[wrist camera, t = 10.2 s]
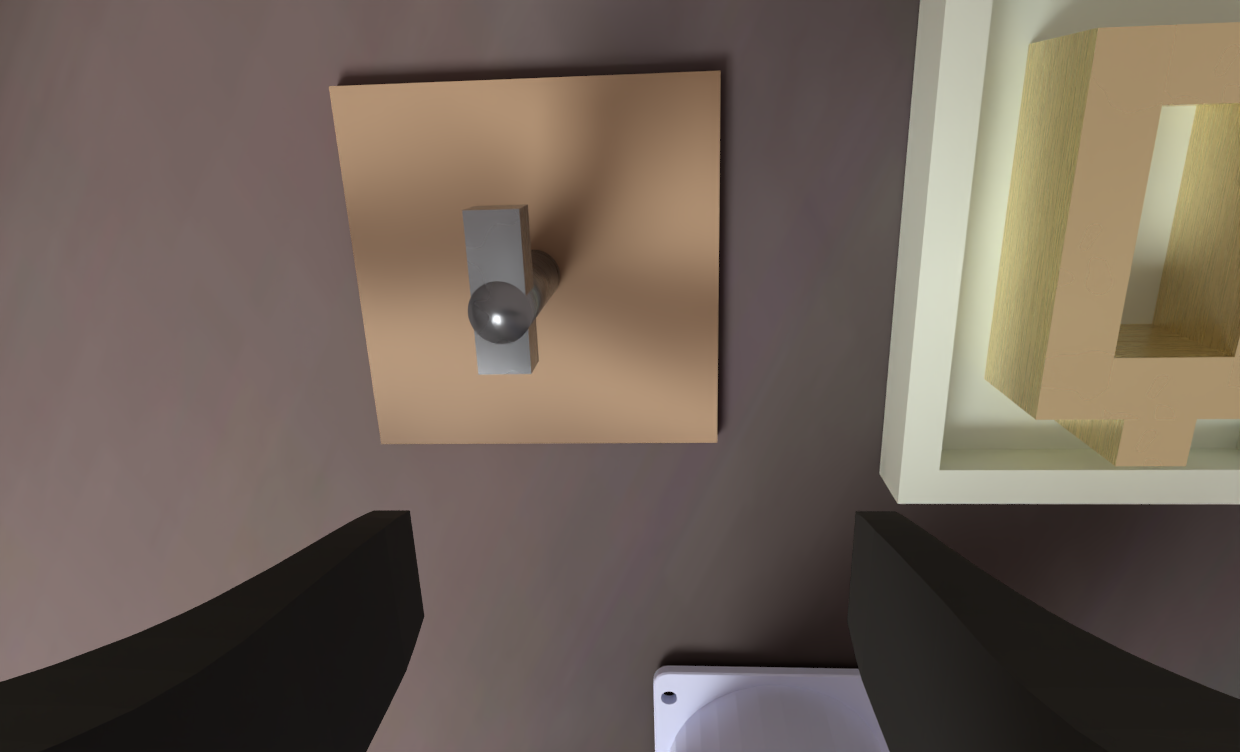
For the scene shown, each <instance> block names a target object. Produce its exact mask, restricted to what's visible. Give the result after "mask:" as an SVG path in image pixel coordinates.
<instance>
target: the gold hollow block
mask: <svg viewBox="0 0 1240 752" xmlns="http://www.w3.org/2000/svg"><path fill="white" fill-rule="evenodd" d="M1169 106H1196V111H1195V116H1194V121H1193V125H1192V130H1191V135H1190V140H1189V145H1188V150H1187V155H1186V160H1185V165H1184V169H1183V174H1182V179H1181V184H1180V189H1179V194H1178V199H1177V204H1176V209H1175V214H1174V218H1173V223H1172V228H1171V233H1170V238H1169V243H1168V248H1167V253H1166V258H1165V263H1164V267H1163V272H1162V277H1161V282H1160V287H1159V292H1158V297H1157V302H1156V307H1155V311H1154V316H1153V321H1152V324H1121V319H1122V313H1123V308H1124V303H1125V298H1126V292H1127V287H1128V282H1129V277H1130V271H1131V266H1132V261H1133V256H1134V250H1135V245H1136V240H1137V235H1138V229H1139V224H1140V219H1141V214H1142V208H1143V203H1144V198H1145V193H1146V187H1147V182H1148V177H1149V172H1150V166H1151V161H1152V156H1153V151H1154V145H1155V140H1156V135H1157V130H1158V124H1159V119H1160V114H1161V109H1162V107H1169ZM984 379H985V380H986V381H987V382H989V383H990V384H991V385H992V386H994V387H995V388H996V389H997V390H999V391H1000V392H1001V393H1003V394H1004V395H1005V396H1006V397H1008V398H1009V399H1010V400H1011V401H1013V402H1014V403H1015V404H1016V405H1018V406H1019V407H1020V408H1021V409H1023V410H1024V411H1025V412H1027V413H1028V414H1029V415H1030V416H1032V417H1033V418H1034V419H1035V420H1055V421H1056V422H1057V423H1059V424H1060V425H1061V426H1063V427H1064V428H1065V429H1067V430H1068V431H1069V432H1070V433H1072V434H1073V435H1074V436H1076V437H1077V438H1078V439H1080V440H1081V441H1082V442H1084V443H1085V444H1086V445H1088V446H1089V447H1090V448H1092V449H1093V450H1094V451H1096V452H1097V453H1098V454H1100V455H1101V456H1102V457H1104V458H1105V459H1106V460H1108V461H1109V462H1110V463H1112V464H1113V465H1114V466H1186V464H1187V459H1188V455H1189V451H1190V446H1191V442H1192V438H1193V434H1194V429H1195V425H1196V421H1197V419H1240V22H1228V23H1203V24H1177V25H1152V26H1126V27H1101V28H1095V29H1090V30H1086V31H1082V32H1078V33H1074V34H1070V35H1065V36H1061V37H1057V38H1053V39H1049V40H1045V41H1040V42H1036V43H1032V44H1029V46H1028V54H1027V61H1026V69H1025V76H1024V84H1023V91H1022V99H1021V106H1020V114H1019V121H1018V129H1017V136H1016V144H1015V151H1014V159H1013V166H1012V174H1011V181H1010V189H1009V196H1008V204H1007V211H1006V219H1005V226H1004V234H1003V241H1002V249H1001V256H1000V264H999V271H998V279H997V286H996V294H995V301H994V309H993V316H992V324H991V331H990V339H989V346H988V354H987V361H986V369H985V376H984Z"/></svg>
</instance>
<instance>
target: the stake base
mask: <svg viewBox="0 0 1240 752" xmlns="http://www.w3.org/2000/svg"><path fill="white" fill-rule="evenodd" d="M720 87H721V71H699V72H674V73H649V74H625V75H600V76H575V77H550V78H525V79H500V80H476V81H451V82H426V83H401V84H376V85H351V86H329V91H330V98H331V104H332V111H333V118H334V125H335V132H336V138H337V145H338V152H339V159H340V166H341V173H342V179H343V186H344V193H345V200H346V207H347V213H348V220H349V227H350V234H351V241H352V247H353V254H354V261H355V268H356V275H357V281H358V288H359V295H360V302H361V309H362V316H363V322H364V329H365V336H366V343H367V350H368V356H369V363H370V370H371V377H372V384H373V390H374V397H375V404H376V411H377V418H378V424H379V431H380V438H381V444H514V443H717V406H718V300H719V193H720ZM522 204H528V212H529V226H530V241H531V250H540V251H543V252H545V253H547V254H549V255H550V256H551V257H552V258H553V259H554V260H555V261H556V263H557V265H558V267H559V271H560V282H559V285H558V287H557V289H556V291H555V292H554V293H553V295H552V296H551V298H550V299H549V300H548V302H547V303H546V305H545V306H544V308H543V309H542V310H541V312H540V313H539V315H538V316H537V317H536V325H537V339H538V354H539V362H538V363H537V365H536V367H535V369H534V370H533V372H532V374H493V375H478V366H477V356H476V346H475V335H474V329H473V327H472V326H471V323H470V321H469V318H468V304H469V300H470V298H471V295H470V285H469V275H468V264H467V254H466V244H465V234H464V224H463V214H462V210H465V209H467V208H470V207H473V206H486V205H522Z"/></svg>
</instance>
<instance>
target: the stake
mask: <svg viewBox="0 0 1240 752" xmlns="http://www.w3.org/2000/svg"><path fill="white" fill-rule="evenodd" d="M462 214H463V224H464V234H465V244H466V254H467V264H468V275H469V285H470V295H471V298H470V300H469V304H468V318H469V321H470V323H471V326H472V327H473V329H474V335H475V346H476V356H477V366H478V375H493V374H532V372H533V370H534V369H535V367H536V365H537V363H538V362H539V354H538V339H537V325H536V317H537V316H538V315H539V313H540V312H541V310H542V309H543V308H544V306H545V305H546V303H547V302H548V300H549V299H550V298H551V296H552V295H553V293H554V292H555V291H556V289H557V287H558V285H559V282H560V271H559V267H558V265H557V263H556V261H555V260H554V259H553V258H552V257H551V256H550V255H549V254H547V253H545V252H543V251H540V250H531V241H530V226H529V212H528V204H522V205H486V206H473V207H470V208H467V209H465V210H462Z"/></svg>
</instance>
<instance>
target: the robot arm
mask: <svg viewBox="0 0 1240 752" xmlns="http://www.w3.org/2000/svg"><path fill="white" fill-rule="evenodd" d="M423 619H424V611H423V603H422V596H421V589H420V582H419V574H418V567H417V560H416V553H415V545H414V538H413V531H412V524H411V517H410V511H372V512H369V513H367V514H365V515H363V516H361V517H359V518H357V519H355V520H353V521H351V522H349V523H347V524H346V525H344V526H342V527H340V528H339V529H337V530H335V531H333V532H332V533H330V534H328V535H326V536H325V537H323V538H321V539H320V540H318V541H316V542H314V543H313V544H311V545H309V546H308V547H306V548H304V549H302V550H301V551H299V552H297V553H296V554H294V555H292V556H290V557H289V558H287V559H285V560H284V561H282V562H280V563H278V564H277V565H275V566H273V567H271V568H269V569H268V570H266V571H264V572H262V573H260V574H258V575H256V576H255V577H253V578H251V579H249V580H247V581H245V582H243V583H242V584H240V585H238V586H236V587H234V588H232V589H230V590H229V591H227V592H225V593H223V594H221V595H219V596H217V597H215V598H213V599H211V600H209V601H207V602H205V603H203V604H201V605H199V606H197V607H195V608H193V609H191V610H189V611H187V612H185V613H182V614H180V615H178V616H176V617H174V618H171V619H169V620H167V621H164V622H162V623H160V624H158V625H155V626H153V627H151V628H149V629H146V630H144V631H142V632H139V633H137V634H134V635H132V636H130V637H127V638H124V639H122V640H119V641H116V642H114V643H111V644H108V645H106V646H103V647H100V648H98V649H95V650H92V651H90V652H87V653H84V654H82V655H79V656H76V657H74V658H71V659H68V660H66V661H63V662H60V663H58V664H55V665H52V666H49V667H46V668H43V669H40V670H37V671H34V672H31V673H27V674H24V675H21V676H18V677H15V678H12V679H9V680H6V681H2V682H0V752H366V751H367V749H368V747H369V745H370V743H371V741H372V739H373V737H374V735H375V733H376V731H377V729H378V727H379V725H380V723H381V721H382V719H383V717H384V715H385V713H386V711H387V709H388V707H389V705H390V703H391V701H392V699H393V697H394V695H395V693H396V691H397V689H398V687H399V685H400V683H401V681H402V678H403V676H404V674H405V672H406V670H407V667H408V664H409V661H410V658H411V656H412V653H413V650H414V647H415V644H416V641H417V638H418V634H419V631H420V628H421V625H422V622H423ZM847 622H848V627H849V631H850V635H851V639H852V644H853V648H854V652H855V656H856V660H857V664H858V668H859V669H845V668H786V667H727V666H663V667H661V668H659V669H658V670H657V671H656V672H655V674H654V727H655V752H1240V699H1237V698H1235V697H1232V696H1229V695H1227V694H1224V693H1221V692H1219V691H1216V690H1214V689H1211V688H1209V687H1206V686H1204V685H1201V684H1199V683H1197V682H1194V681H1192V680H1190V679H1187V678H1185V677H1182V676H1180V675H1178V674H1175V673H1173V672H1171V671H1168V670H1166V669H1164V668H1161V667H1159V666H1156V665H1154V664H1152V663H1150V662H1147V661H1145V660H1143V659H1141V658H1139V657H1137V656H1134V655H1132V654H1130V653H1128V652H1126V651H1124V650H1122V649H1119V648H1118V647H1116V646H1114V645H1112V644H1110V643H1108V642H1106V641H1104V640H1102V639H1100V638H1098V637H1096V636H1094V635H1092V634H1090V633H1088V632H1086V631H1084V630H1082V629H1080V628H1078V627H1076V626H1074V625H1072V624H1070V623H1069V622H1067V621H1065V620H1063V619H1061V618H1060V617H1058V616H1056V615H1054V614H1052V613H1051V612H1049V611H1047V610H1046V609H1044V608H1042V607H1041V606H1039V605H1037V604H1036V603H1034V602H1032V601H1031V600H1029V599H1027V598H1025V597H1024V596H1022V595H1020V594H1019V593H1017V592H1015V591H1014V590H1012V589H1011V588H1009V587H1007V586H1006V585H1004V584H1003V583H1001V582H1000V581H998V580H997V579H995V578H993V577H992V576H990V575H989V574H987V573H986V572H984V571H983V570H981V569H980V568H978V567H977V566H975V565H974V564H972V563H971V562H969V561H968V560H966V559H965V558H964V557H962V556H961V555H959V554H958V553H956V552H955V551H953V550H952V549H951V548H949V547H948V546H946V545H945V544H943V543H942V542H941V541H939V540H938V539H936V538H935V537H933V536H932V535H931V534H929V533H928V532H926V531H925V530H923V529H922V528H920V527H919V526H918V525H916V524H915V523H913V522H912V521H910V520H909V519H907V518H906V517H904V516H902V515H901V514H899V513H897V512H857V511H856V514H855V527H854V540H853V553H852V566H851V579H850V593H849V606H848V619H847ZM668 691H670V692H673V693H675V694H674V695H671V696H668V695H665V694H663V693H664V692H668Z"/></svg>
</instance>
